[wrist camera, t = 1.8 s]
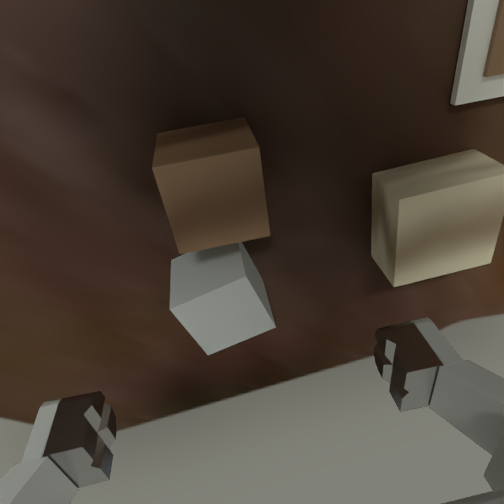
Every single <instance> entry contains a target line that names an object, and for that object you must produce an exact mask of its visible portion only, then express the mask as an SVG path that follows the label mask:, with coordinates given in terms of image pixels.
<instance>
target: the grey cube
mask: <svg viewBox="0 0 504 504" xmlns="http://www.w3.org/2000/svg"><path fill="white" fill-rule="evenodd" d="M170 310H171V312H172V313H173V314H174V315H175V316H176V318H177V319H178V320H179V321H180V322H181V324H182V325H183V326H184V327H185V328H186V330H187V331H188V332H189V333H190V334H191V336H192V337H193V338H194V339H195V340H196V342H197V343H198V344H199V345H200V346H201V348H202V349H203V350H204V351H205V352H206V354H207V355H210V354H213V353H215V352H217V351H220V350H222V349H225V348H227V347H230V346H232V345H234V344H237V343H239V342H242V341H244V340H247V339H249V338H251V337H254V336H256V335H259V334H261V333H263V332H266V331H268V330H271V329H273V328H276V325H275V322H274V318H273V315H272V311H271V307H270V304H269V300H268V297H267V293H266V290H265V286H264V283H263V279H262V278H261V276H260V274H259V272H258V270H257V269H256V267H255V265H254V263H253V261H252V259H251V258H250V256H249V254H248V252H247V250H246V249H245V247H244V245H243V243H242V242H238V243H233V244H228V245H223V246H218V247H213V248H208V249H203V250H199V251H194V252H189V253H186V254H183V255H181V256H179V257H177V258H175V259H172V260H171V282H170Z"/></svg>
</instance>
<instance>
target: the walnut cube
mask: <svg viewBox="0 0 504 504" xmlns="http://www.w3.org/2000/svg"><path fill="white" fill-rule="evenodd" d="M152 170H153V173H154V176H155V179H156V182H157V185H158V189H159V192H160V195H161V198H162V201H163V204H164V207H165V211H166V214H167V217H168V220H169V223H170V226H171V229H172V232H173V236H174V239H175V242H176V245H177V248H178V251H179V254H184V253H189V252H194V251H199V250H203V249H208V248H213V247H218V246H223V245H228V244H233V243H238V242H243V241H248V240H253V239H257V238H262V237H267V236H271V235H270V227H269V219H268V211H267V203H266V195H265V188H264V180H263V172H262V164H261V156H260V149H259V145H258V143H257V141H256V139H255V137H254V135H253V133H252V131H251V129H250V127H249V125H248V123H247V121H246V119H245V117H240V118H235V119H230V120H224V121H219V122H214V123H209V124H203V125H198V126H193V127H187V128H182V129H177V130H171V131H166V132H161V133H157V138H156V144H155V151H154V157H153V164H152Z"/></svg>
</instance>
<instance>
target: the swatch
mask: <svg viewBox="0 0 504 504" xmlns="http://www.w3.org/2000/svg"><path fill="white" fill-rule="evenodd" d="M502 96H504V0H468V5H467V10H466V16H465V22H464V27H463V33H462V39H461V44H460V50H459V56H458V61H457V67H456V72H455V78H454V84H453V89H452V95H451V101H450V104H452V105H455V106H456V105H461V104H466V103H471V102H476V101H481V100H486V99H492V98H497V97H502Z"/></svg>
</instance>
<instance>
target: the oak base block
mask: <svg viewBox="0 0 504 504" xmlns="http://www.w3.org/2000/svg"><path fill="white" fill-rule="evenodd" d="M503 215H504V165H503V164H501V163H499V162H497V161H496V160H494V159H492V158H490V157H488V156H486V155H485V154H483V153H481V152H479V151H477V150H475V149H471V150H467V151H462V152H458V153H454V154H450V155H446V156H442V157H438V158H434V159H430V160H425V161H421V162H417V163H413V164H409V165H405V166H401V167H397V168H393V169H388V170H384V171H380V172H376V173H372V229H371V256H372V258H373V259H374V260H375V262H376V263H377V265H378V266H379V267H380V269H381V270H382V272H383V273H384V274H385V276H386V277H387V279H388V280H389V281H390V283H391V284H392V286H393V287H397V286H401V285H405V284H409V283H413V282H417V281H421V280H425V279H429V278H433V277H437V276H441V275H445V274H449V273H453V272H457V271H461V270H465V269H469V268H473V267H477V266H481V265H485V264H489V263H491V260H492V256H493V253H494V249H495V245H496V241H497V238H498V234H499V230H500V226H501V223H502V219H503Z"/></svg>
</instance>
